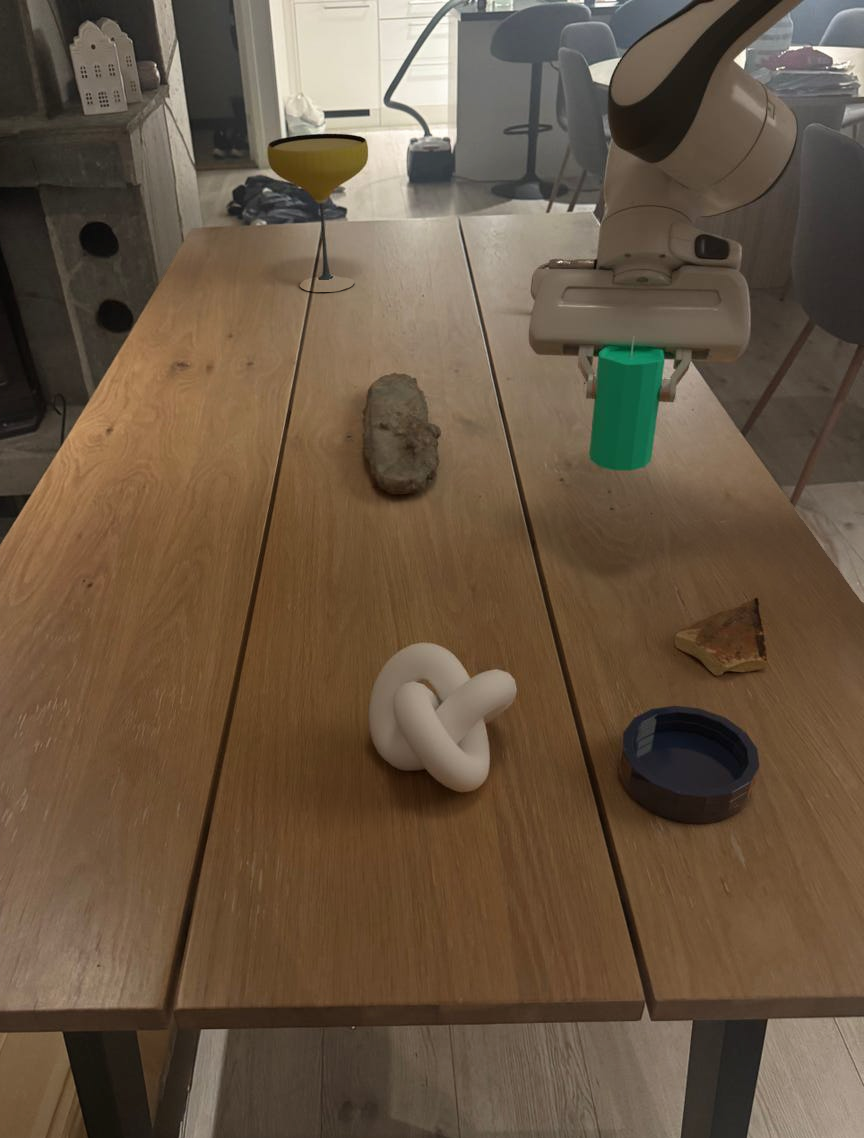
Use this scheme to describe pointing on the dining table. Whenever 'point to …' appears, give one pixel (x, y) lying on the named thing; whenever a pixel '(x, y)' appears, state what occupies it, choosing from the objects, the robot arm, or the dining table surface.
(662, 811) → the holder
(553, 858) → the dining table surface
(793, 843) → the dining table surface
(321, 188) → the cocktail glass
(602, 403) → the candle
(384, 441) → the elongated rock
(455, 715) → the white knot sculpture
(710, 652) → the shard
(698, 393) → the dining table surface
